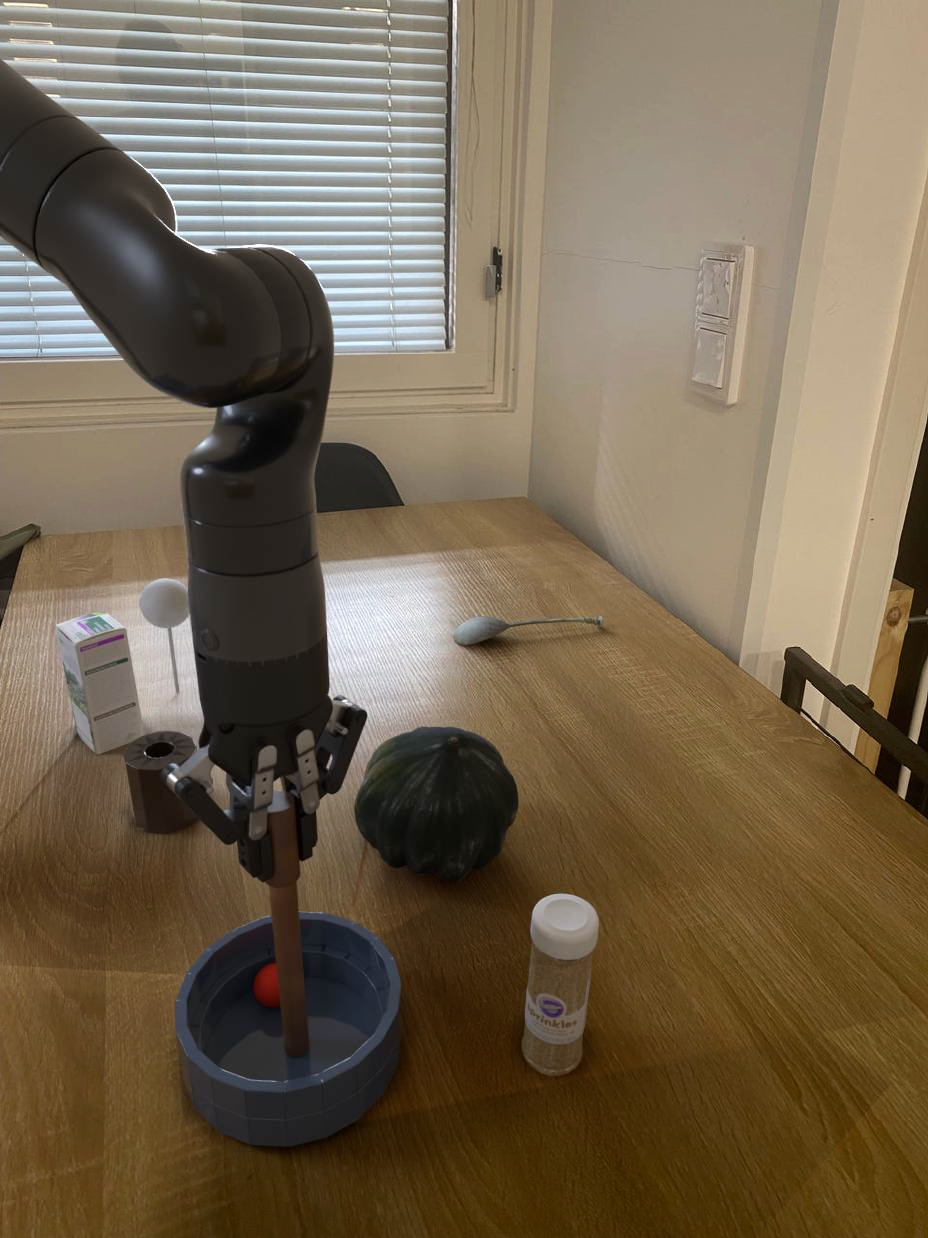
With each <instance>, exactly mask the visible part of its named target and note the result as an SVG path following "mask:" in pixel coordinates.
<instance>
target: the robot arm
mask: <svg viewBox="0 0 928 1238" xmlns="http://www.w3.org/2000/svg"><path fill="white" fill-rule="evenodd" d="M177 231H178V219H177V213H176V209H175V205H174V203H173V200H172V198H171V196H170V195H169V193H168V191H167V190H166V188H165V187H164V186H163V185H162V184H161V182H160V181H159V180H158V179H157V178H156V177H155V176H154V175H153V174H152V173H151V172H149V171H148V170H147V168H145V167H144V166H143V165H141V164H140V163H139V162H138V161H137V160H135V159H134V158H133V157H131V156H130V155H129V154H126V152H124V151H123V150H122V149H121V148H119V147H118V146H117V145H115V144H113V143H112V142H111V141H110V140H108V139H107V138H105V137H104V136H103V135H101V133H99V132H98V131H96V130H95V129H94V128H92V127H91V126H90V125H88V124H87V123H86V122H85V121H83V120H82V119H80V118H78V116H76V115H74V114H73V113H71V112H70V111H69V110H68V109H66V108H65V107H63V106H62V105H61V104H59V102H56V100H54V99H53V98H51V97H50V96H48V95H47V94H46V93H44V92H43V91H42V90H41V89H40V88H38V87H37V86H35V85H34V84H33V83H31V82H30V81H29V80H27V79H26V77H24V76H22V75H21V74H20V73H19V72H18V71H16V70H15V69H14V68H13V67H11V66H10V65H9V64H8V63H7V62H6V61H4V59H2V58H1V57H0V238H2V240H4V241H6V242H7V243H8V244H9V245H11V246H12V247H13V248H15V249H16V250H17V251H19V252H20V253H21V254H23V255H24V256H25V257H27V258H28V259H29V260H31V261H32V262H33V263H35V264H36V265H37V266H38V267H40V268H41V269H42V270H44V271H45V272H47V273H48V274H50V275H51V276H52V277H53V278H55V279H56V280H57V281H59V282H60V283H62V284H63V285H65V286H66V287H67V288H68V289H69V291H70V292H71V293H72V295H73V296H74V298H75V299H76V301H77V302H78V304H79V305H80V307H81V308H82V309H83V310H84V312H85V313H86V315H87V316H88V318H89V319H90V320H91V321H92V323H94V325H95V326H96V327H97V328H98V330H99V331H100V332H101V333H102V335H103V336H104V337H105V338H106V340H107V341H108V342H109V343H110V345H111V346H112V347H113V348H114V349H115V351H116V352H117V354H118V355H119V356H120V357H121V358H122V360H123V361H124V362H125V364H126V365H128V366H129V368H130V369H131V370H132V371H133V373H135V374H136V375H137V376H138V377H139V378H141V380H143V381H144V382H145V383H146V384H148V385H149V386H151V387H152V388H154V389H155V390H157V391H158V392H160V393H161V394H163V395H165V396H167V397H169V398H171V399H173V400H176V401H178V402H180V403H183V404H185V405H189V406H192V407H197V408H201V409H216V411H215V418H214V423H213V426H212V428H211V429H210V432H209V433H208V435H207V436H206V438H204V440H202V441H201V442H200V443H199V444H197V446H195V448H194V449H192V450H191V452H189V453H188V455H186V457H185V459H184V460H183V463H182V464H181V468H180V473H179V481H180V482H179V489H180V500H181V501H180V503H181V513H182V521H183V529H184V538H185V547H186V555H187V567H188V568H187V589H188V605H189V613H190V614H189V621H190V628H191V629H190V630H191V634H192V637H191V638H192V647H193V654H194V662H195V671H196V672H195V673H196V679H197V688H198V697H199V703H200V708H201V711H202V715H203V725H202V729H201V731H200V733H199V737H198V749H197V752H195V753H194V754H193V755H192V756H191V757H190V758H189V759H188V760H187V761H186V762H185V763H184V764H182V765H181V766H178V765H177V764H174V763H173V764H169V765H167V766H166V767H164V769H163V770H162V772H161V779H162V781H163V782H164V783H165V784H166V785H167V786H168V787H169V788H170V789H171V790H172V791H173V792H174V793H175V794H176V795H177V796H178V797H179V798H180V799H181V801H182V802H183V803H184V804H185V805H186V806H187V807H188V808H189V809H190V810H191V811H192V812H193V813H194V814H195V815H196V816H197V817H198V820H200V822H201V823H202V824H203V825H204V826H206V828H208V829H209V830H210V831H211V832H212V834H214V835H215V836H216V837H217V838H218V839H219V840H220V841H221V842H222V843H223V844H224V845H225V846H230V845H234V844H235V843H236V847H237V848H236V849H237V858H238V863H239V865H240V866H241V867H242V868H243V870H245V871H246V872H247V873H248V874H249V876H251V877H252V878H253V879H256V878H257V880H259V881H260V882H261V883H265V881H267V880H269V879H271V878H273V876H274V872H273V861H272V849H271V838H270V834H269V833H268V832H267V814H268V806H270V805H272V802H273V791H274V782H276V781H277V780H279V781H280V783H281V788H282V791H286V792H289V793H290V794H292V795H293V797H294V799H295V809H296V822H297V835H298V848H299V861H300V862H302V863H303V862H305V861H307V860H308V859H310V858H312V857H313V855H314V851H313V849H314V848H315V847H316V846H317V843H318V840H319V838H318V837H319V835H318V818H317V810H318V809H319V807H320V804H321V800H322V799H323V798H324V797H325V796H326V795H328V794H329V795H336V794H337V793H338V792H340V790H341V789H342V787H343V785H344V781H345V779H346V776H347V773H348V771H349V767H350V766H351V762H352V760H353V757H354V755H355V752H356V749H357V746H358V744H359V741H360V738H361V737H362V736H361V735H362V733H363V731H364V728H365V725H366V722H367V720H368V712H367V711H366V710H365V709H364V708H362V707H360V706H359V705H357V704H356V703H355V702H353V701H351V700H350V699H348V698H347V697H346V696H344V695H342V694H338V695H336V696H334V697H333V698H331V697H330V696H329V693H330V688H331V687H330V685H331V683H330V663H329V640H328V639H329V638H328V623H327V621H328V620H327V600H326V598H327V597H326V585H325V579H324V573H323V569H322V568H323V567H322V564H321V557H320V549H319V533H318V532H319V531H318V514H317V513H318V512H317V493H316V485H315V473H316V467H317V462H318V459H319V458H318V457H319V454H320V449H321V444H322V441H323V436H324V429H325V424H326V417H327V411H328V407H329V406H328V404H329V399H330V392H331V387H332V379H333V372H334V362H335V331H334V323H333V318H332V313H331V310H330V305H329V302H328V297H327V296H326V292H325V290H324V288H323V286H322V284H321V282H320V280H319V279H318V277H317V276H316V274H315V273H314V271H313V270H312V269H311V267H310V266H309V265H308V264H307V263H306V262H305V261H304V260H303V259H302V258H300V257H299V256H298V255H296V254H295V253H293V252H291V251H289V250H287V249H285V248H283V247H279V246H275V245H269V244H253V245H251V244H250V245H241V246H233V247H231V246H230V247H219V248H209V249H208V248H207V249H203V248H201V247H198V246H196V245H195V244H193V243H191V242H189V241H187V240H186V239H184V238H182V237H181V236H179V235H178V234H177ZM331 757H332V759H331ZM330 759H331V762H330ZM329 762H330V765H329ZM328 765H329V767H328ZM214 766H216V767H218V768H219V769H220V770H222V771H223V772H225V785H226V788H227V790H228V792H229V793H228V794H229V809H224V810H223V809H222V808H221V806H219V805H218V804H217V803H216V801H215V800H214V799H213V798H212V797H211V796H210V795H211V794H213V793H214V787H213V785H214V780H213V778H212V770H213V768H214Z"/></svg>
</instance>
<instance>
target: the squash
mask: <svg viewBox="0 0 928 1238" xmlns="http://www.w3.org/2000/svg"><path fill="white" fill-rule="evenodd" d="M518 791H519V790H518V786H517V783H516V780H515V778H514V775H513V774H512V773H511V771H510V770H509V768H508V767H507V766H506V764H505V762H504V760H503V756H502V754H501V753H500V751H499V750H498V749H497V748H496V746H495V745H494V744H493V743H492V742H491V741H489V740H488V739H486V738H485V737H483V736H481V735H479V734H477V733H475V732H473V731H469V730H465V729H463V728H459V727H457V726H420V727H419V726H418V727H416V728H415V729H413V730H411V731H408V732H407V731H406V732H402V733H400V734H397V735H395V736H392V737H390V738H388V739H386V740H385V741H383V742H382V743H381V744H380V745H379V746H378V747H376V749H375V750H374V751H373V753H372V755H371V757H370V759H369V760H368V762H367V764H366V768H365V770H364V776H363V781H362V783H361V784H360V786H359V789H358V791H357V793H356V796H355V799H354V805H353V811H354V819H355V823H356V827H357V828H358V831H359V833H360V835H361V836H362V838H363V839H364V840H365V841H366V842H367V843H368V844H369V845H370V846H371V847H372V848H373V849H374V850H377V852H378V853H379V855H380V857H381V859H382V861H383V862H385V863H386V864H387V865H388V866H389V867H391V868H394V869H401V868H404V867H407V869H408V870H409V871H410V872H411V873H412V874H415V875H417V876H424V875H427V874H429V873H431V872H432V873H433V874H434V875H435V876H436V877H438V878H439V879H440V880H441V881H444V882H448V883H457V882H460V881H461V880H463V879H464V878H465V877H466V876H467V875H469V873H470V871H471V870H472V871H479V870H481V869H484V868H486V867H487V866H489V865H490V864H491V863H492V862H493V861H495V860H496V859H497V858H498V856H499V855H500V854H501V852H502V849H503V846H504V843H505V839H506V835H507V832H508V830H509V829H510V827H511V826H512V825H513V823H514V822H515V820H516V817H517V813H518V810H519V800H520V799H519V792H518Z"/></svg>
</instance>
